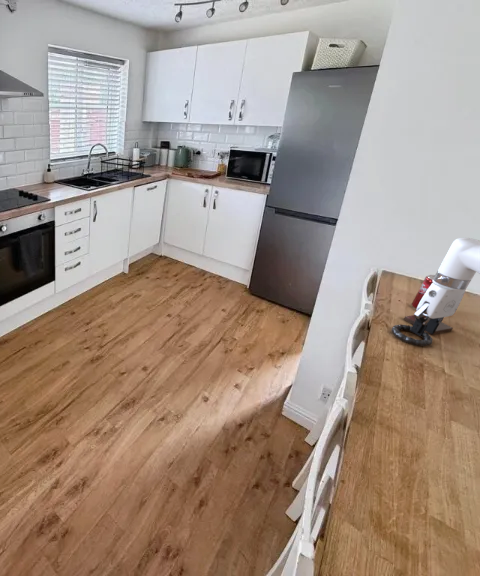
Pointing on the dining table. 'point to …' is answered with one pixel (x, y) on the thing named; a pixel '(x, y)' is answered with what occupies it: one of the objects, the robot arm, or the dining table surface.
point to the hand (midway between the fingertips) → (422, 331)
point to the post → (440, 328)
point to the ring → (410, 340)
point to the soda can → (422, 290)
